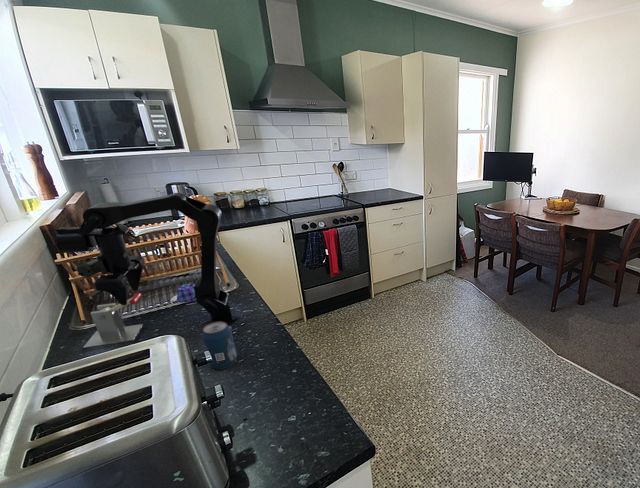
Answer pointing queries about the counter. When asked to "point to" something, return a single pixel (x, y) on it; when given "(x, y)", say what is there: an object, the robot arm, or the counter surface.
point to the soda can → (219, 344)
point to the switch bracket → (111, 328)
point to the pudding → (185, 293)
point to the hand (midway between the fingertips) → (130, 297)
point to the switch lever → (130, 301)
